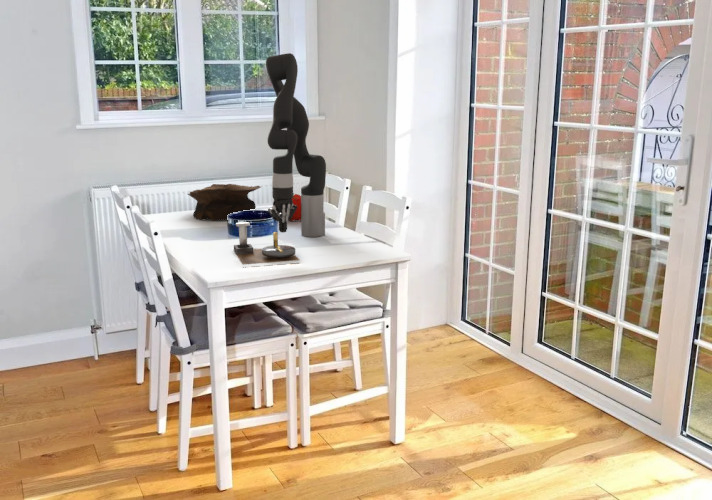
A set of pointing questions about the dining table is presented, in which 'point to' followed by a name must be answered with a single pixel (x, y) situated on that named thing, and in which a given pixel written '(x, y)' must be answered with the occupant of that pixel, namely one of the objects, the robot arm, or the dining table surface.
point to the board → (258, 256)
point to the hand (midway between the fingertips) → (282, 231)
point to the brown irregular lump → (222, 200)
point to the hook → (243, 234)
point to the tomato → (297, 202)
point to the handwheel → (278, 249)
